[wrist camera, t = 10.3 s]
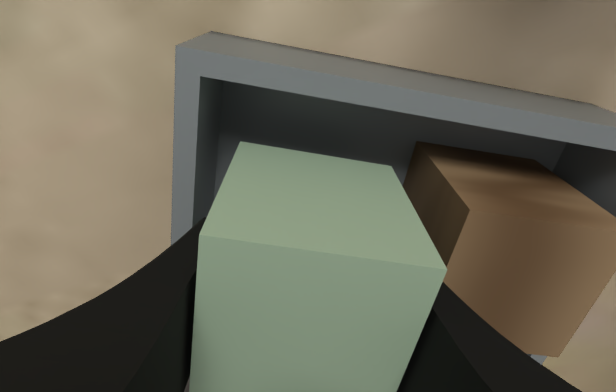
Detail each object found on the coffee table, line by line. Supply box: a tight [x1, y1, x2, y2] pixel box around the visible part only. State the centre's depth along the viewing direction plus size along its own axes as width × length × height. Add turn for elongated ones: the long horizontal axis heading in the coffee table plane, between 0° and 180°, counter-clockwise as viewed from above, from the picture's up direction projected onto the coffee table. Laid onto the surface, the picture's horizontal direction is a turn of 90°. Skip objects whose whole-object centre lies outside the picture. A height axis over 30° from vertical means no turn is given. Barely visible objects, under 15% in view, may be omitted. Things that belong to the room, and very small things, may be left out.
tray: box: [171, 31, 616, 365], centre depth 14 cm, size 14×10×4 cm
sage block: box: [189, 141, 447, 392], centre depth 10 cm, size 4×4×5 cm
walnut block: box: [402, 141, 616, 357], centre depth 13 cm, size 4×4×5 cm
